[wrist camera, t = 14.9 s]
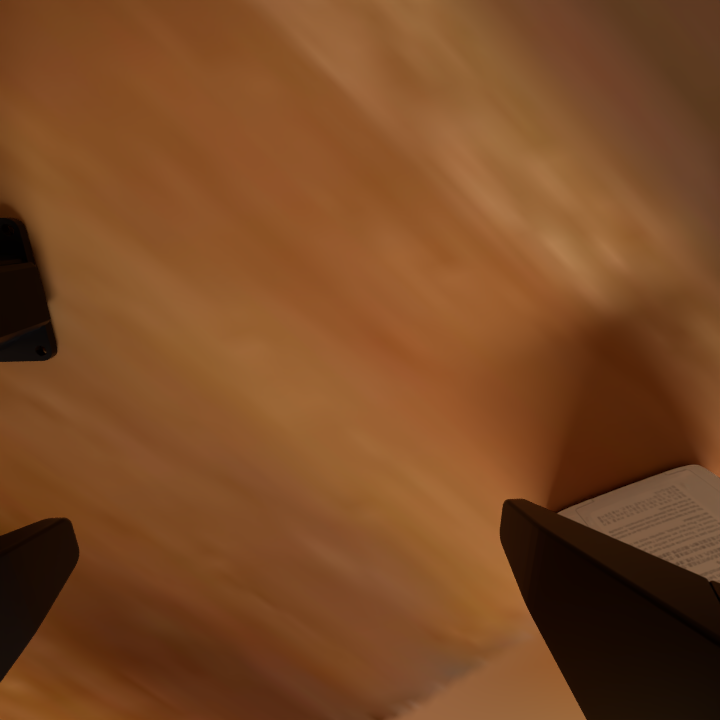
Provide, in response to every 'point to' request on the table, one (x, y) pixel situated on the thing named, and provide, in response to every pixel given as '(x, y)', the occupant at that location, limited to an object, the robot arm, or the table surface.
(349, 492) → the table surface
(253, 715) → the table surface
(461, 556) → the table surface
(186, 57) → the table surface
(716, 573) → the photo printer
